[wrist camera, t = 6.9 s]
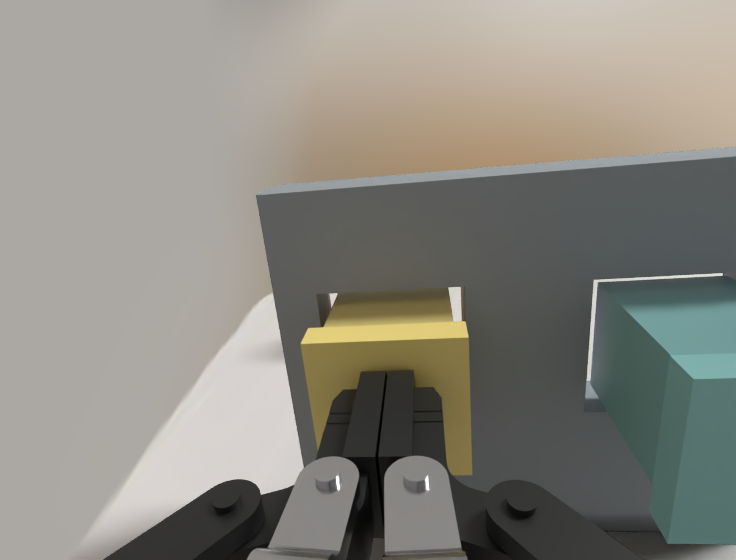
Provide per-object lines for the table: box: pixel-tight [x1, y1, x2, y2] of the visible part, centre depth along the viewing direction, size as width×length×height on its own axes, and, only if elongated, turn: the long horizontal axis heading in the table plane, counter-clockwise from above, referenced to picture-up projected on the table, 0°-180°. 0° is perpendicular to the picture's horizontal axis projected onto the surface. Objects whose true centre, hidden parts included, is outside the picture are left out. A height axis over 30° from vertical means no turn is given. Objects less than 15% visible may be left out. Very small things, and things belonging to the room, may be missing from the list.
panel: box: [256, 147, 736, 532], centre depth 19 cm, size 17×5×14 cm, turn 84°
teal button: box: [590, 276, 736, 545], centre depth 13 cm, size 5×6×5 cm
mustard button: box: [301, 287, 472, 475], centre depth 17 cm, size 5×6×5 cm
